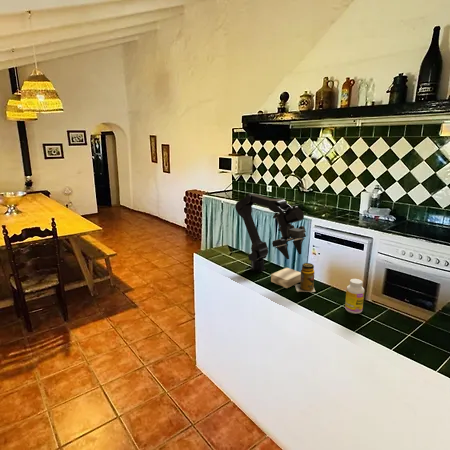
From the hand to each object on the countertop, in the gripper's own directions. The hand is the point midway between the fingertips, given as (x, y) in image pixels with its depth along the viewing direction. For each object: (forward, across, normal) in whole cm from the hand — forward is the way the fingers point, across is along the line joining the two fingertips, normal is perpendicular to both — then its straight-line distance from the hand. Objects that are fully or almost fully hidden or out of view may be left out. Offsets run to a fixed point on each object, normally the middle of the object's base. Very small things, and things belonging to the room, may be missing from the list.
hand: (294, 256), depth 151 cm
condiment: (+16, 0, 0) cm, 16 cm away
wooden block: (+11, 0, +9) cm, 15 cm away
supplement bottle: (+26, -2, -24) cm, 35 cm away
